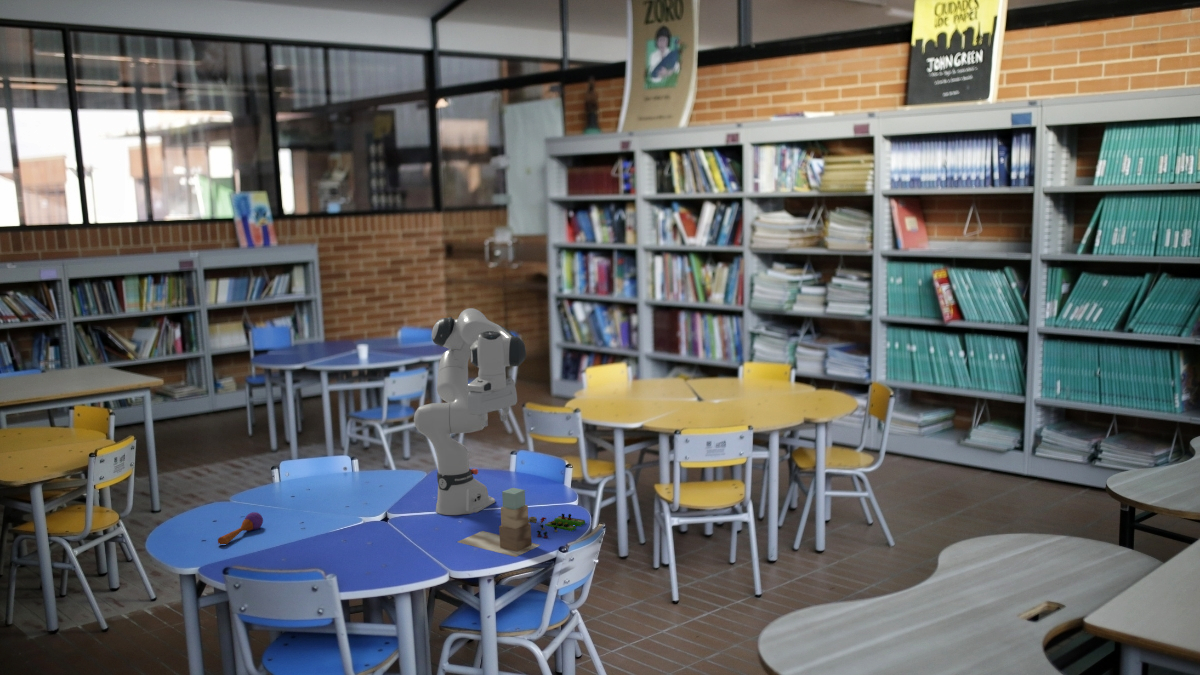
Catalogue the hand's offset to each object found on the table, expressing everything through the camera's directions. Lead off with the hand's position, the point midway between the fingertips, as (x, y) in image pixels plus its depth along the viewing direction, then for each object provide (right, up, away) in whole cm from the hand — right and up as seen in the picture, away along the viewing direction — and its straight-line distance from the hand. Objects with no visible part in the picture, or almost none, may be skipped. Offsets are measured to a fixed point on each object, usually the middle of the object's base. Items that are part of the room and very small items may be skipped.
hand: (494, 423), depth 319 cm
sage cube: (+8, -25, -14) cm, 29 cm away
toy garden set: (+16, -37, +7) cm, 41 cm away
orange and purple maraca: (-86, -39, +10) cm, 95 cm away
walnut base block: (+8, -38, -12) cm, 40 cm away
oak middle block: (+8, -31, -13) cm, 34 cm away
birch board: (+2, -39, -9) cm, 40 cm away
